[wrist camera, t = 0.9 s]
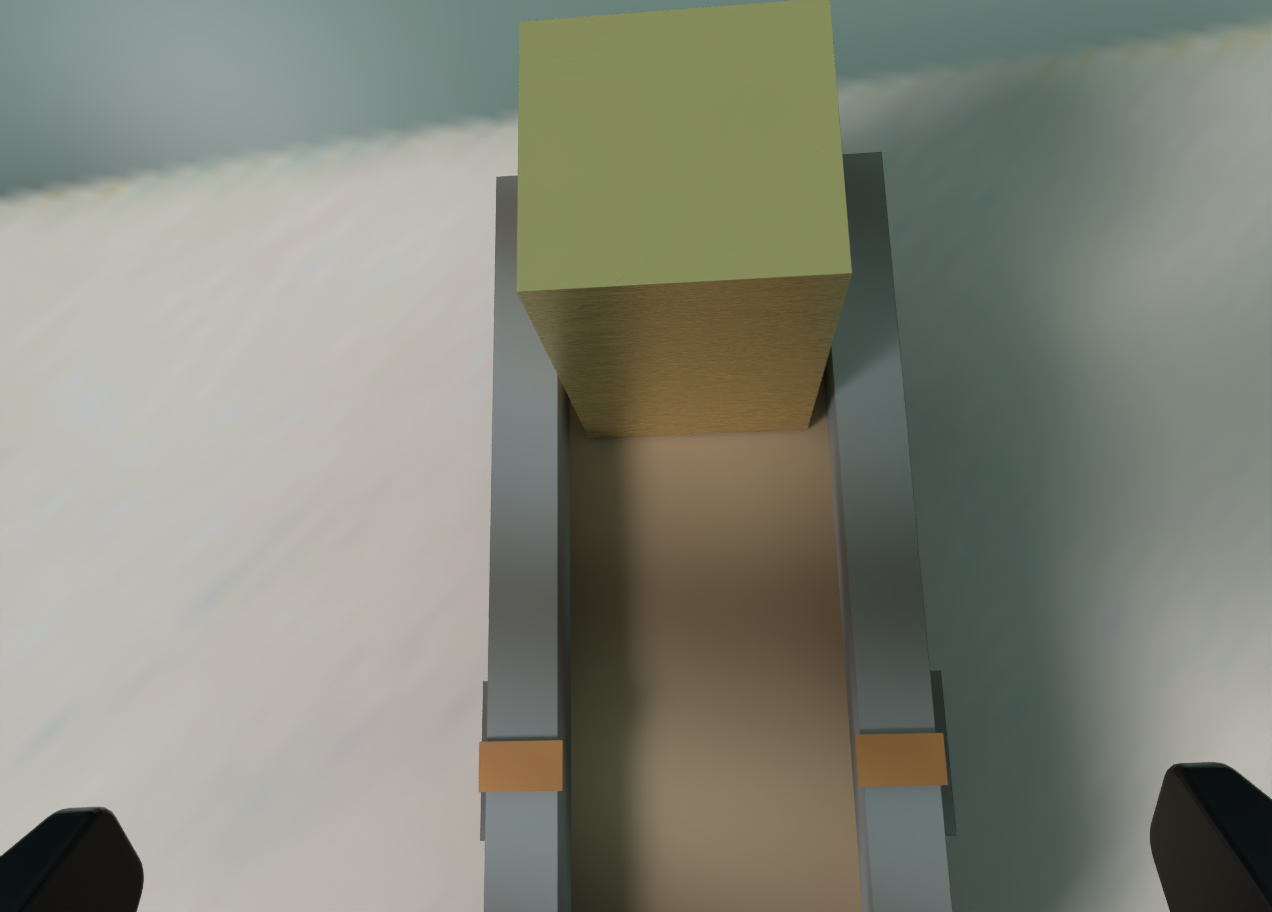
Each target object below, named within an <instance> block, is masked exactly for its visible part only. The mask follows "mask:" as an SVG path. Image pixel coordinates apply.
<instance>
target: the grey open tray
mask: <svg viewBox="0 0 1272 912" xmlns="http://www.w3.org/2000/svg"><path fill="white" fill-rule="evenodd" d="M842 158H843V170H844V182H845V195H846V207H847V219H848V231H849V243H850V256H851V268H852V275H851V278H850V282H849V285H848V289H847V292H846V296H845V299H844V303H843V306H842V310H841V313H840V317H839V320H838V324H837V327H836V331H835V334H834V338H833V341H832V345H831V348H830V352H829V355H828V359H827V362H826V366H825V369H824V373H823V376H822V380H821V383H820V387H819V390H818V394H817V397H816V401H815V404H814V408H813V411H812V415H811V418H810V422H809V425H808V429H807V430H790V431H767V432H744V433H721V434H698V435H674V436H651V437H628V438H605V439H589V437H588V435H587V433H586V431H585V429H584V427H583V425H582V423H581V421H580V419H579V417H578V415H577V413H576V411H575V409H574V407H573V405H572V403H571V401H570V399H569V397H568V395H567V393H566V391H565V389H564V387H563V385H562V383H561V381H560V378H559V376H558V374H557V372H556V370H555V368H554V366H553V364H552V362H551V360H550V358H549V356H548V354H547V352H546V350H545V348H544V346H543V344H542V342H541V340H540V338H539V336H538V334H537V332H536V330H535V328H534V326H533V324H532V322H531V320H530V318H529V316H528V314H527V312H526V310H525V308H524V306H523V304H522V302H521V300H520V298H519V295H518V293H517V211H518V176H503V177H497V181H496V239H495V297H494V354H493V412H492V470H491V528H490V586H489V644H488V681H483V719H482V742H480V744H479V792H481V828H480V841H485V875H484V912H952V905H951V894H950V883H949V872H948V862H947V851H946V840H945V836H948V835H956V825H955V815H954V804H953V794H952V784H951V773H950V763H949V752H948V742H947V731H946V721H945V710H944V700H943V690H942V679H941V671H930V668H929V657H928V647H927V636H926V625H925V614H924V604H923V593H922V582H921V571H920V561H919V550H918V539H917V528H916V518H915V507H914V496H913V485H912V475H911V464H910V453H909V442H908V432H907V421H906V410H905V399H904V389H903V378H902V367H901V356H900V346H899V335H898V324H897V313H896V303H895V292H894V281H893V270H892V260H891V249H890V238H889V227H888V217H887V206H886V195H885V184H884V174H883V163H882V152H874V153H859V154H843V155H842Z"/></svg>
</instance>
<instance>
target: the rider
mask: <svg viewBox="0 0 1272 912" xmlns="http://www.w3.org/2000/svg"><path fill="white" fill-rule="evenodd" d="M831 24H832V23H831V12H830V0H796V1H784V2H769V3H757V4H744V5H731V6H718V7H705V8H693V9H680V10H666V11H653V12H641V13H628V14H614V15H601V16H588V17H575V18H564V19H563V18H562V19H550V20H536V21H523V22H520V33H519V37H520V38H519V39H520V40H519V122H518V211H517V293H518V295H519V298H520V300H521V302H522V304H523V306H524V308H525V310H526V312H527V314H528V316H529V318H530V320H531V322H532V324H533V326H534V328H535V330H536V332H537V334H538V336H539V338H540V340H541V342H542V344H543V346H544V348H545V350H546V352H547V354H548V356H549V358H550V360H551V362H552V364H553V366H554V368H555V370H556V372H557V374H558V376H559V378H560V381H561V383H562V385H563V387H564V389H565V391H566V393H567V395H568V397H569V399H570V401H571V403H572V405H573V407H574V409H575V411H576V413H577V415H578V417H579V419H580V421H581V423H582V425H583V427H584V429H585V431H586V433H587V435H588V437H589V439H605V438H628V437H651V436H674V435H698V434H721V433H744V432H767V431H790V430H807V429H808V425H809V422H810V418H811V415H812V411H813V408H814V404H815V401H816V397H817V394H818V390H819V387H820V383H821V380H822V376H823V373H824V369H825V366H826V362H827V359H828V355H829V352H830V348H831V345H832V341H833V338H834V334H835V331H836V327H837V324H838V320H839V317H840V313H841V310H842V306H843V303H844V299H845V296H846V292H847V289H848V285H849V282H850V278H851V275H852V268H851V256H850V243H849V231H848V219H847V207H846V195H845V182H844V170H843V158H842V146H841V133H840V121H839V109H838V97H837V84H836V73H835V60H834V50H833V49H834V48H833V36H832V25H831Z"/></svg>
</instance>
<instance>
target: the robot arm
mask: <svg viewBox="0 0 1272 912" xmlns="http://www.w3.org/2000/svg"><path fill="white" fill-rule="evenodd" d="M1150 844H1151V850H1152V855H1153V859H1154V862H1155V865H1156V868H1157V872H1158V875H1159V878H1160V881H1161V884H1162V887H1163V891H1164V894H1165V897H1166V900H1167V903H1168V907H1169V910H1170V912H1272V799H1271V798H1270V797H1268V796H1267V795H1266V794H1265V793H1263V792H1262V791H1261V790H1260V789H1258V788H1257V787H1256V786H1255V785H1253V784H1252V783H1251V782H1250V781H1248V780H1247V779H1246V778H1245V777H1243V776H1242V775H1241V774H1240V773H1238V772H1237V771H1236V770H1234V769H1233V768H1231V767H1229V766H1227V765H1225V764H1222V763H1217V762H1202V763H1179V764H1174V765H1173V766H1171V767H1170V768H1169V769H1168V770H1167V772H1166V774H1165V777H1164V780H1163V784H1162V787H1161V791H1160V794H1159V798H1158V801H1157V805H1156V808H1155V812H1154V815H1153V819H1152V823H1151V827H1150ZM143 881H144V875H143V867H142V863H141V861H140V858H139V857H138V855H137V853H136V851H135V850H134V848H133V846H132V844H131V843H130V841H129V839H128V838H127V836H126V834H125V832H124V831H123V829H122V827H121V825H120V824H119V822H118V820H117V818H116V817H115V815H114V814H113V813H112V812H111V811H110V810H108V809H106V808H104V807H82V808H67V809H62V810H59V811H57V812H55V813H53V814H52V815H50V816H49V817H47V818H46V819H45V820H44V821H42V822H41V823H40V824H39V825H38V826H36V827H35V828H34V829H33V830H32V831H30V832H29V833H28V834H27V835H26V836H24V837H23V838H22V839H21V840H20V841H18V842H17V843H16V844H15V845H14V846H12V847H11V848H10V849H9V850H8V851H6V852H5V853H4V854H3V855H1V856H0V912H137V908H138V905H139V901H140V898H141V894H142V889H143Z"/></svg>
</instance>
